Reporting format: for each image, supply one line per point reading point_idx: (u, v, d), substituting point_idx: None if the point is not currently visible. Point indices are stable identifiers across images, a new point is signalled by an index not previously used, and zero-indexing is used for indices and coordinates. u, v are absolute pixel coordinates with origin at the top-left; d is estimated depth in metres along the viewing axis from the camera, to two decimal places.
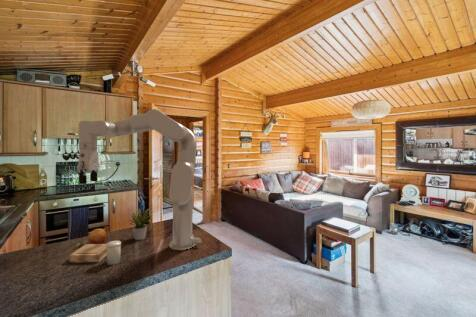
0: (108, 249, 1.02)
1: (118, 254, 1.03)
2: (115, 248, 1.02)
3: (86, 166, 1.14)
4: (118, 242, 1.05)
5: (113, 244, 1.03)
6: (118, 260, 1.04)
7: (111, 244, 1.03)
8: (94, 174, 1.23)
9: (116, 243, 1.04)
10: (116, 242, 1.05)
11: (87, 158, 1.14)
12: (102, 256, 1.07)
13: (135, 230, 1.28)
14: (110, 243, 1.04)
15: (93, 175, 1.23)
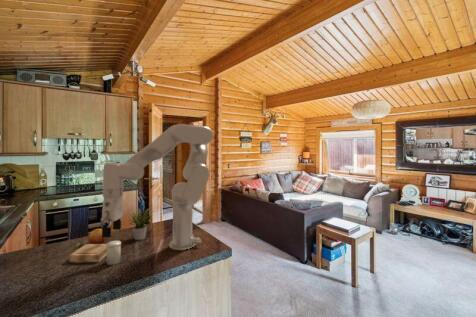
0: (108, 249, 1.02)
1: (118, 254, 1.03)
2: (115, 248, 1.02)
3: (111, 217, 0.98)
4: (118, 242, 1.05)
5: (113, 244, 1.03)
6: (118, 260, 1.04)
7: (111, 244, 1.03)
8: (117, 222, 1.08)
9: (116, 243, 1.04)
10: (116, 242, 1.05)
11: (112, 207, 0.99)
12: (102, 256, 1.07)
13: (135, 230, 1.28)
14: (110, 243, 1.04)
15: (116, 223, 1.08)
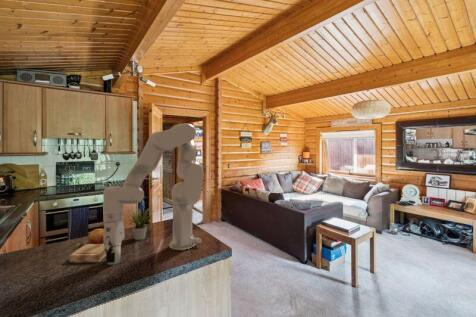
0: None
1: (118, 254, 1.03)
2: (115, 248, 1.02)
3: (112, 242, 0.99)
4: None
5: None
6: (118, 260, 1.04)
7: (111, 244, 1.03)
8: None
9: None
10: None
11: (113, 232, 0.99)
12: (102, 256, 1.07)
13: (135, 230, 1.28)
14: None
15: None
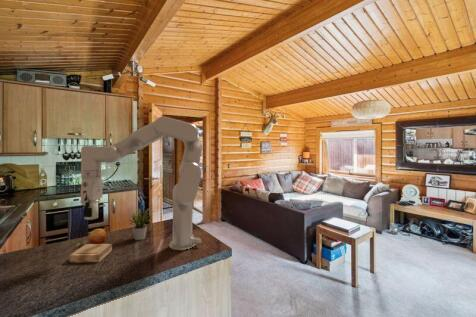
0: None
1: (95, 210, 1.08)
2: (92, 204, 1.07)
3: (89, 196, 1.04)
4: None
5: None
6: (95, 216, 1.08)
7: None
8: None
9: None
10: None
11: (90, 187, 1.04)
12: (102, 256, 1.07)
13: (135, 230, 1.28)
14: (88, 199, 1.08)
15: None
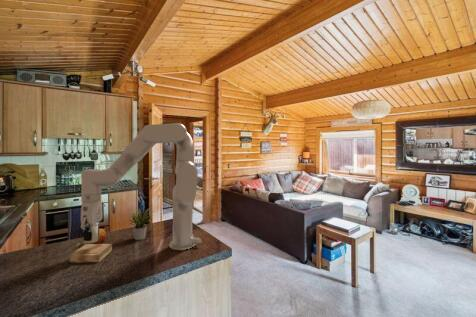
0: None
1: (95, 233, 1.08)
2: (92, 227, 1.07)
3: (89, 220, 1.04)
4: None
5: None
6: (95, 239, 1.08)
7: (88, 223, 1.08)
8: None
9: None
10: None
11: (90, 212, 1.04)
12: (102, 256, 1.07)
13: (135, 230, 1.28)
14: (88, 223, 1.09)
15: None
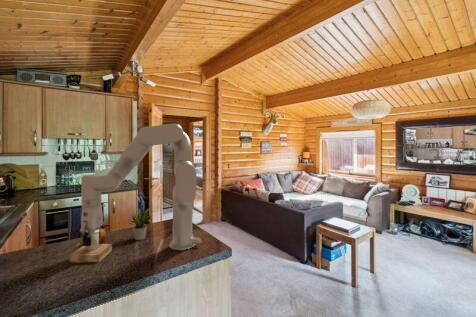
0: None
1: (96, 241, 1.09)
2: (93, 235, 1.07)
3: (89, 226, 1.04)
4: (96, 230, 1.10)
5: (91, 231, 1.08)
6: (96, 247, 1.09)
7: None
8: None
9: (94, 231, 1.09)
10: (94, 230, 1.10)
11: (90, 217, 1.04)
12: (102, 256, 1.07)
13: (135, 230, 1.28)
14: None
15: None
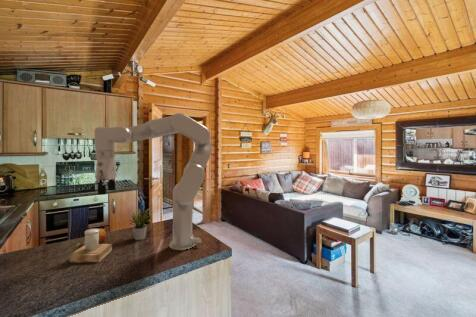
0: (86, 236, 1.07)
1: (96, 241, 1.09)
2: (93, 235, 1.07)
3: (105, 175, 1.07)
4: (96, 230, 1.10)
5: (91, 231, 1.08)
6: (96, 247, 1.09)
7: (89, 231, 1.08)
8: (112, 183, 1.17)
9: (94, 230, 1.09)
10: (94, 230, 1.10)
11: (105, 167, 1.08)
12: (102, 256, 1.07)
13: (135, 230, 1.28)
14: (88, 230, 1.09)
15: (111, 184, 1.17)
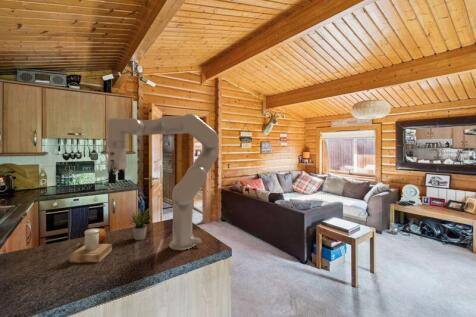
0: (86, 236, 1.07)
1: (96, 241, 1.09)
2: (93, 235, 1.07)
3: (116, 165, 1.11)
4: (96, 230, 1.10)
5: (91, 231, 1.08)
6: (96, 247, 1.09)
7: (89, 231, 1.08)
8: (122, 173, 1.20)
9: (94, 231, 1.09)
10: (94, 230, 1.10)
11: (117, 156, 1.11)
12: (102, 256, 1.07)
13: (135, 230, 1.28)
14: (88, 231, 1.09)
15: (121, 174, 1.20)
